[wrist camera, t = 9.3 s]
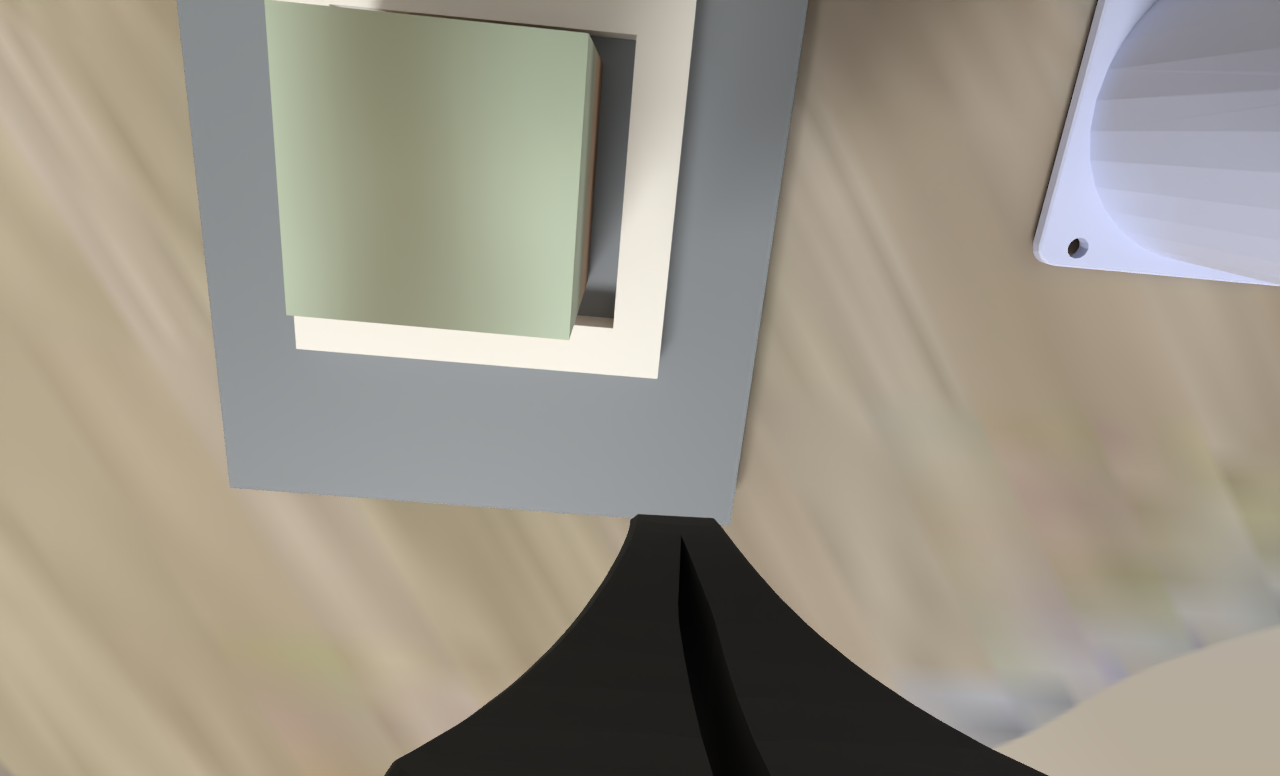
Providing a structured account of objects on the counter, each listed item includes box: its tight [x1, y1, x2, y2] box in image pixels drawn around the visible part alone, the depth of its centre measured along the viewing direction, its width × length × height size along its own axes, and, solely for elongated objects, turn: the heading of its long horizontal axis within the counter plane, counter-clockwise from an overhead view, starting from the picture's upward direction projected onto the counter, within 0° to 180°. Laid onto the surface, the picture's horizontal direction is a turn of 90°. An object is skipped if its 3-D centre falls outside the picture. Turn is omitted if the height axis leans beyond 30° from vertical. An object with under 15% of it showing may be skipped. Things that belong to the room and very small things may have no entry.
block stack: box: [264, 0, 603, 340], centre depth 15 cm, size 5×5×6 cm
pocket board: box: [177, 0, 808, 526], centre depth 18 cm, size 14×18×2 cm
